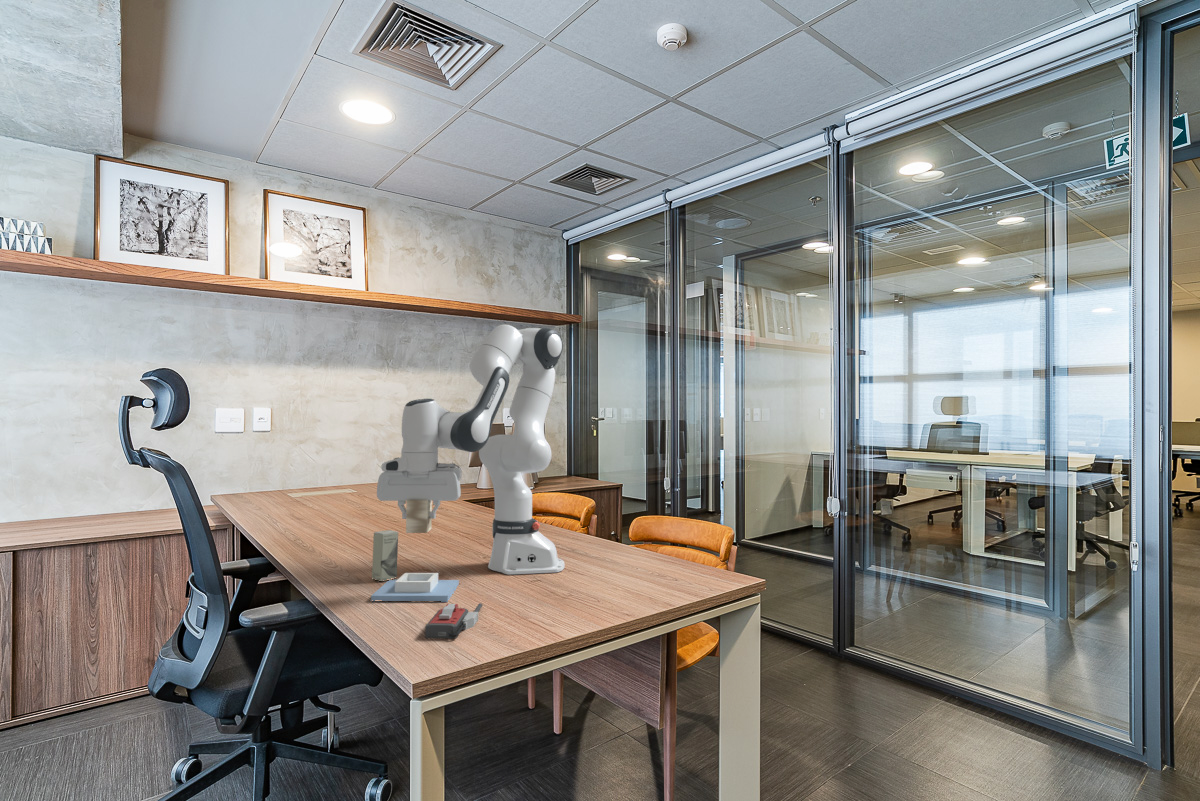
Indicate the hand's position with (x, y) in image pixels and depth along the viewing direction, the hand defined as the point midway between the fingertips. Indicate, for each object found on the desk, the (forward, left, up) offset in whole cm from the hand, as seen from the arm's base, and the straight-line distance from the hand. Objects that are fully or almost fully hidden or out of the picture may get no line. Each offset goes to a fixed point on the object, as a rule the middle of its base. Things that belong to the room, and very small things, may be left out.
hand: (419, 518), depth 151 cm
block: (0, 0, -3) cm, 3 cm away
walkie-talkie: (-14, +22, -19) cm, 32 cm away
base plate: (0, 0, -19) cm, 19 cm away
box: (+12, -13, -19) cm, 26 cm away
